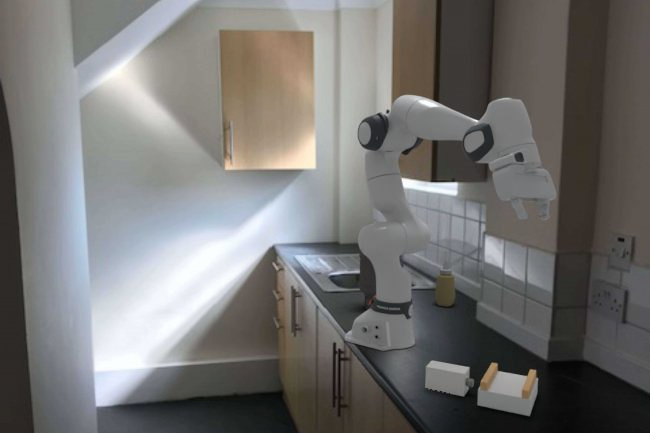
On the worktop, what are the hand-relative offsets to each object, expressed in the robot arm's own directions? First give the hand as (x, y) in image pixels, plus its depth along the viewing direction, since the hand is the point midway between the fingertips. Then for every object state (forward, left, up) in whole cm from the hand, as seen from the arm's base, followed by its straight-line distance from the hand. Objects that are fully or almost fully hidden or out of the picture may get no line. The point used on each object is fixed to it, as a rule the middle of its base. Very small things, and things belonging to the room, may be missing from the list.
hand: (534, 219), depth 130 cm
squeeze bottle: (-41, +81, -46) cm, 102 cm away
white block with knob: (-19, +2, -46) cm, 50 cm away
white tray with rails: (-4, +4, -46) cm, 46 cm away
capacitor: (-63, +63, -46) cm, 100 cm away
